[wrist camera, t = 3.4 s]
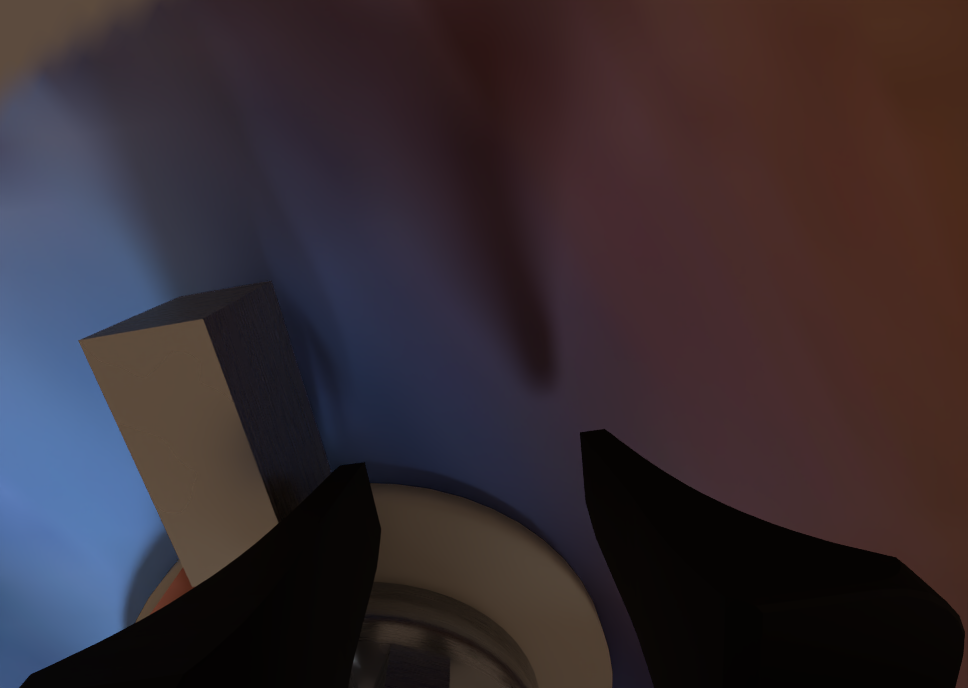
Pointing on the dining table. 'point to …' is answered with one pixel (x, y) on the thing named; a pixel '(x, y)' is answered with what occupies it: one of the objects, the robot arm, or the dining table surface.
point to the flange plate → (479, 579)
